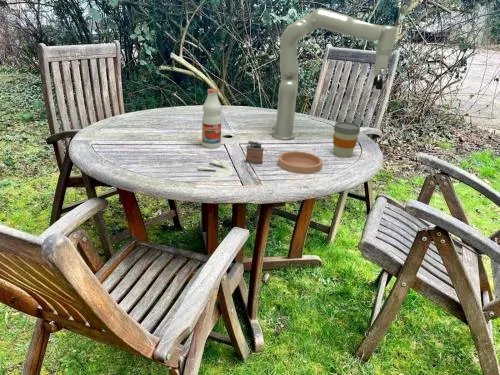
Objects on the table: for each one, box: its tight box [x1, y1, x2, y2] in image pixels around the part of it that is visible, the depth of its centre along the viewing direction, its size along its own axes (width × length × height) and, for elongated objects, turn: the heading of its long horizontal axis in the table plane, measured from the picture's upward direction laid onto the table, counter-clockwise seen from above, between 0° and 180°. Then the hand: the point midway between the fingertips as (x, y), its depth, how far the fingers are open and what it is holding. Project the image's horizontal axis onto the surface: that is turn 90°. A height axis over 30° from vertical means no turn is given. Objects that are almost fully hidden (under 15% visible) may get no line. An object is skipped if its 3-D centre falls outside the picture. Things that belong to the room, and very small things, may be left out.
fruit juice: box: [201, 88, 223, 149], centre depth 199 cm, size 9×9×28 cm
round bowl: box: [277, 150, 324, 175], centre depth 187 cm, size 20×20×3 cm
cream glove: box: [197, 159, 234, 179], centre depth 179 cm, size 20×22×2 cm
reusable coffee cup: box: [332, 121, 361, 158], centre depth 202 cm, size 13×13×15 cm
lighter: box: [245, 140, 265, 166], centre depth 185 cm, size 8×3×10 cm, turn 71°
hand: (377, 87), depth 207 cm, fingers open, 9 cm apart
